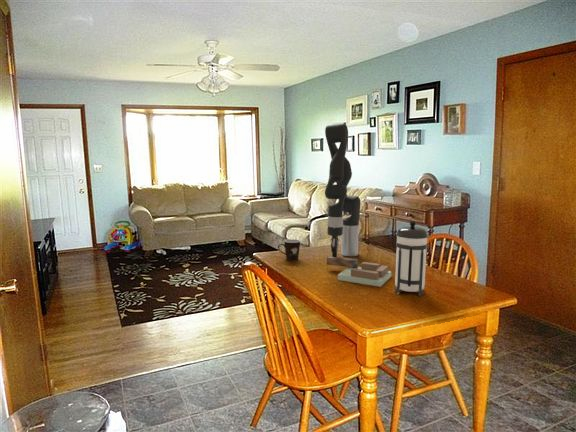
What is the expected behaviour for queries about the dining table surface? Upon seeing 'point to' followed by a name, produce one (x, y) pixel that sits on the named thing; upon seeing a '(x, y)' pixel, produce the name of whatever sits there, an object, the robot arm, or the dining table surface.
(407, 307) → the dining table surface
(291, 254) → the coffee mug
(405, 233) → the coffee press
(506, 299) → the dining table surface
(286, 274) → the dining table surface
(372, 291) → the dining table surface
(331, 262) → the brown rectangular bar
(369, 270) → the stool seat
